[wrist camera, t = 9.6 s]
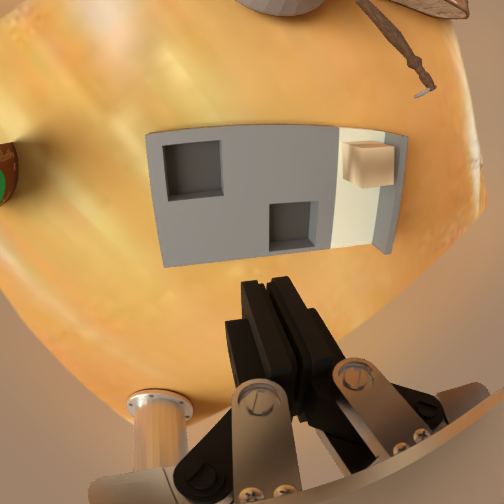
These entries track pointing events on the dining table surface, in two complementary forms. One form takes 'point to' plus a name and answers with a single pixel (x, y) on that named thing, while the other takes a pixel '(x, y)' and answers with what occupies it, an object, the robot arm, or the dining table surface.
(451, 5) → the tin
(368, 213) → the board
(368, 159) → the block
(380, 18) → the coffee pot
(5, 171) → the food container
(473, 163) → the dining table surface
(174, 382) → the dining table surface
